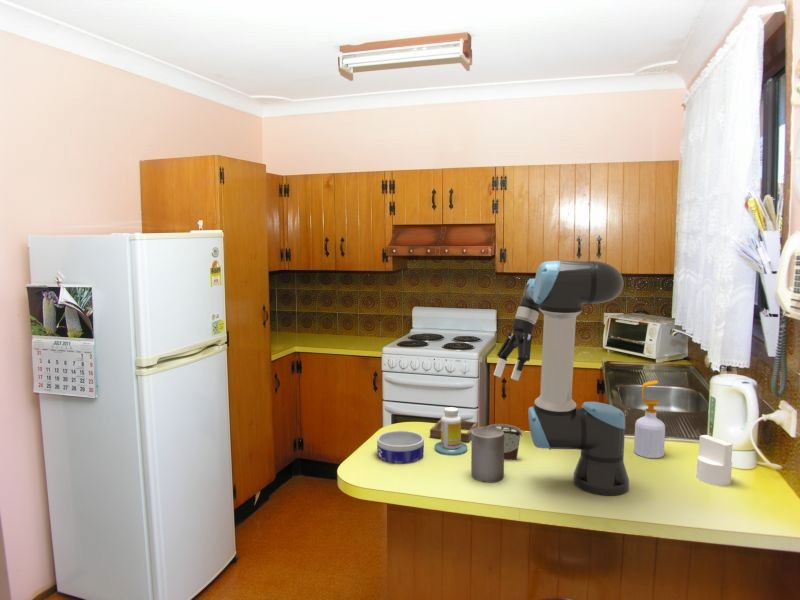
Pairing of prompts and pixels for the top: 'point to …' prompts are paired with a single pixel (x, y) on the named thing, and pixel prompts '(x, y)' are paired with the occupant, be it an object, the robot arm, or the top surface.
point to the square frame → (465, 425)
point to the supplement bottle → (451, 429)
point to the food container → (510, 440)
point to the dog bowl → (400, 447)
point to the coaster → (445, 451)
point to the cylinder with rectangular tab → (714, 461)
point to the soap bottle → (649, 430)
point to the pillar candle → (487, 454)
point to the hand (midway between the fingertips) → (505, 377)
